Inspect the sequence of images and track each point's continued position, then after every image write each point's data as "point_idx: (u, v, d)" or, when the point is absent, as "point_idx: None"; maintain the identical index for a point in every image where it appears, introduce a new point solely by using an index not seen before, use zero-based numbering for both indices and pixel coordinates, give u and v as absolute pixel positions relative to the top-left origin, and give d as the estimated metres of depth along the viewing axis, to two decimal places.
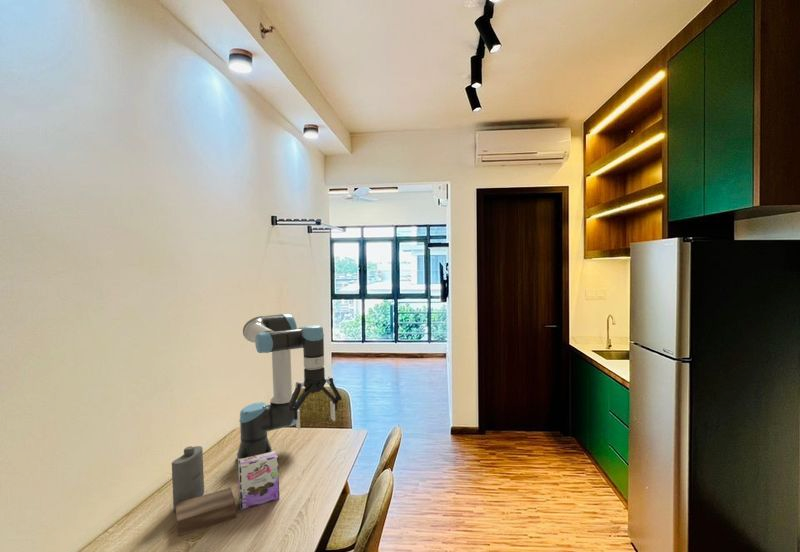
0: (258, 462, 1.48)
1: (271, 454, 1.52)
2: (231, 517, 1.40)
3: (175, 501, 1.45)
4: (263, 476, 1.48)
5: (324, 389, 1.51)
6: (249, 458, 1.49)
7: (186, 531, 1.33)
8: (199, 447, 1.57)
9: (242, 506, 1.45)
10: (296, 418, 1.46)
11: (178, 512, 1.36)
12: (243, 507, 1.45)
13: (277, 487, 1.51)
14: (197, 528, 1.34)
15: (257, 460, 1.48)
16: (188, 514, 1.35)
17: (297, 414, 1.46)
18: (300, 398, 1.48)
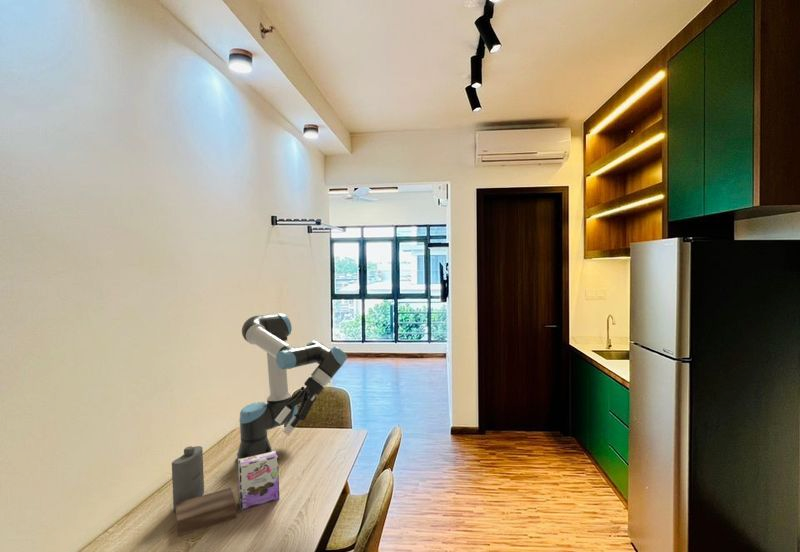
0: (258, 462, 1.48)
1: (271, 454, 1.52)
2: (231, 517, 1.40)
3: (175, 501, 1.45)
4: (263, 476, 1.48)
5: None
6: (249, 458, 1.49)
7: (186, 531, 1.33)
8: (199, 447, 1.57)
9: (242, 506, 1.45)
10: None
11: (178, 512, 1.36)
12: (243, 507, 1.45)
13: (277, 487, 1.51)
14: (197, 528, 1.34)
15: (257, 460, 1.48)
16: (188, 514, 1.35)
17: None
18: None
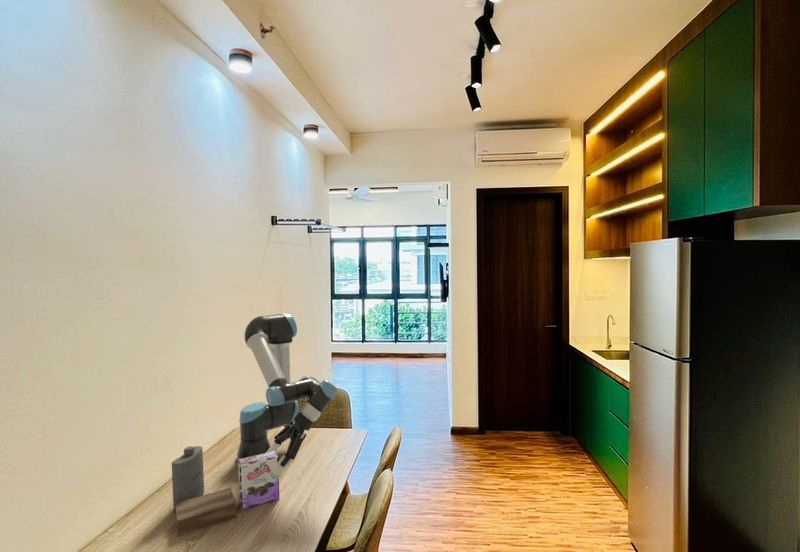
0: (258, 462, 1.48)
1: (271, 454, 1.52)
2: (231, 517, 1.40)
3: (175, 501, 1.45)
4: (263, 476, 1.48)
5: None
6: (249, 458, 1.49)
7: (186, 531, 1.33)
8: (199, 447, 1.57)
9: (242, 506, 1.45)
10: None
11: (178, 512, 1.36)
12: (243, 507, 1.45)
13: (277, 487, 1.51)
14: (197, 528, 1.34)
15: (257, 460, 1.48)
16: (188, 514, 1.35)
17: (287, 461, 1.47)
18: None
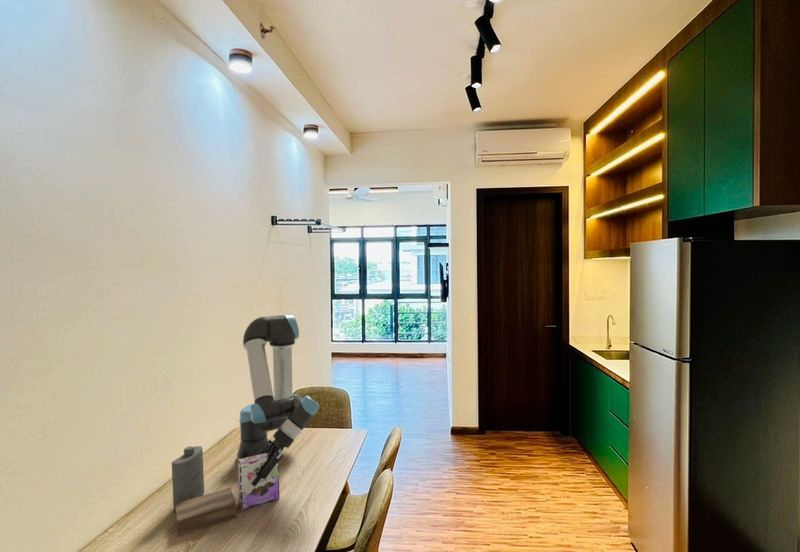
0: (259, 462, 1.48)
1: None
2: (231, 517, 1.40)
3: (175, 501, 1.45)
4: None
5: None
6: (249, 458, 1.49)
7: (186, 531, 1.33)
8: (199, 447, 1.57)
9: (242, 506, 1.45)
10: None
11: (178, 512, 1.36)
12: (243, 507, 1.45)
13: (277, 487, 1.51)
14: (197, 528, 1.34)
15: (257, 460, 1.48)
16: (188, 514, 1.35)
17: (258, 480, 1.47)
18: None
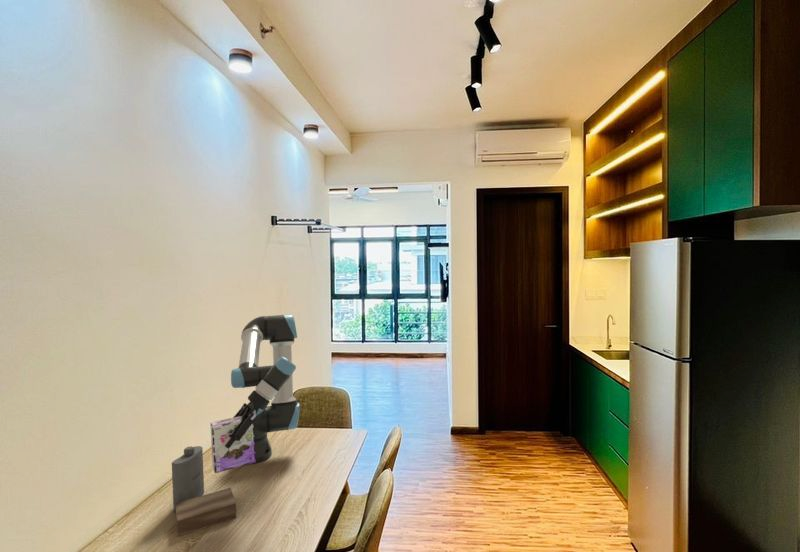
0: (232, 424, 1.41)
1: None
2: (231, 517, 1.40)
3: (175, 501, 1.45)
4: None
5: None
6: (222, 421, 1.43)
7: (186, 531, 1.33)
8: (199, 447, 1.57)
9: (216, 470, 1.39)
10: None
11: (178, 512, 1.36)
12: (217, 471, 1.39)
13: (253, 450, 1.45)
14: (197, 528, 1.34)
15: (230, 422, 1.41)
16: (188, 514, 1.35)
17: None
18: None
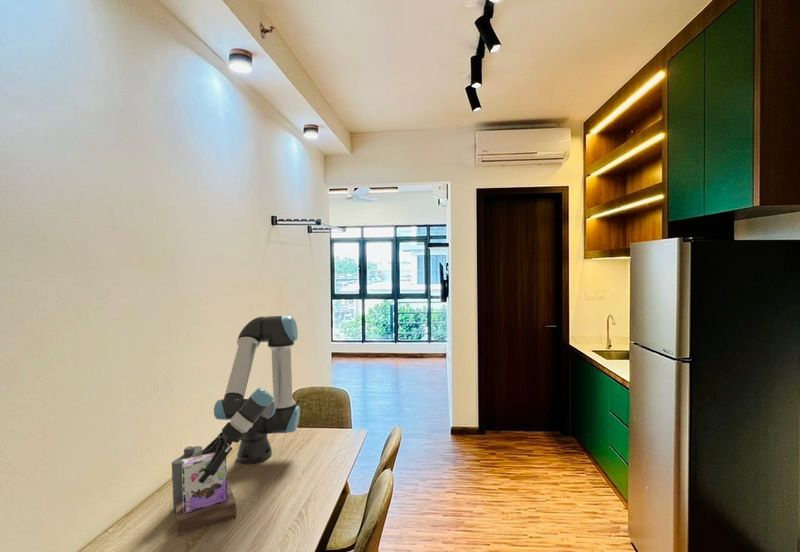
0: (204, 463, 1.38)
1: None
2: (231, 517, 1.40)
3: (175, 501, 1.45)
4: (210, 477, 1.39)
5: None
6: (194, 458, 1.40)
7: (186, 531, 1.33)
8: (199, 447, 1.57)
9: (185, 510, 1.35)
10: None
11: (178, 512, 1.36)
12: (186, 511, 1.35)
13: (225, 488, 1.41)
14: (197, 528, 1.34)
15: (202, 460, 1.38)
16: (188, 514, 1.35)
17: None
18: None
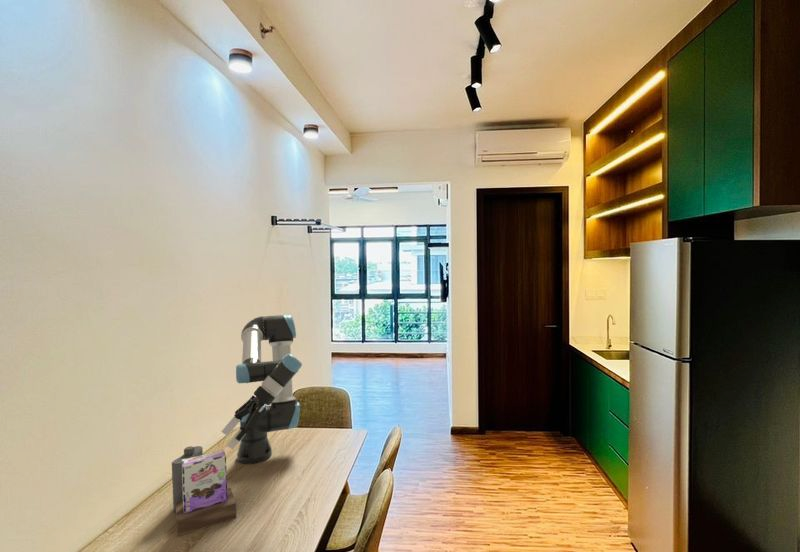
0: (204, 463, 1.38)
1: (219, 453, 1.43)
2: (231, 517, 1.40)
3: (175, 501, 1.45)
4: (209, 477, 1.39)
5: None
6: (194, 458, 1.40)
7: (186, 531, 1.33)
8: (199, 447, 1.57)
9: (185, 510, 1.35)
10: None
11: (178, 512, 1.36)
12: (186, 511, 1.35)
13: (225, 488, 1.41)
14: (197, 528, 1.34)
15: (202, 460, 1.38)
16: (188, 514, 1.35)
17: None
18: None
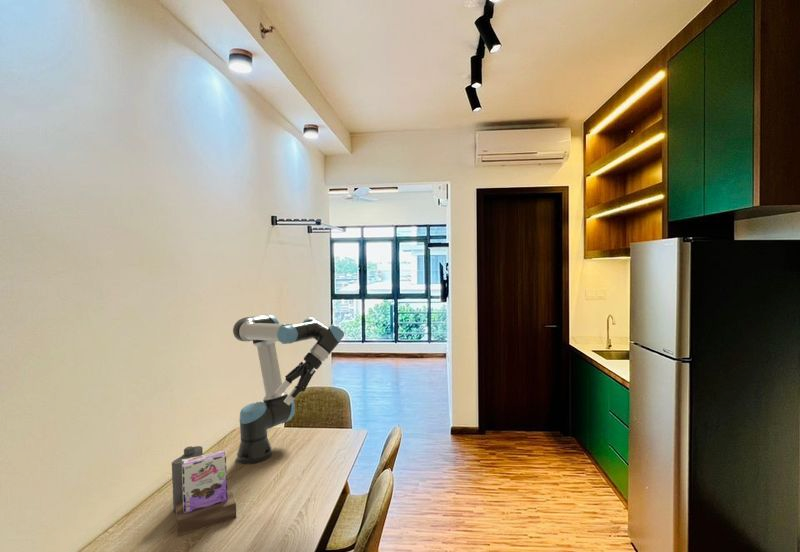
0: (204, 462, 1.38)
1: (219, 453, 1.43)
2: (231, 517, 1.40)
3: (175, 501, 1.45)
4: (209, 477, 1.39)
5: None
6: (194, 458, 1.40)
7: (186, 531, 1.33)
8: (199, 447, 1.57)
9: (185, 510, 1.35)
10: None
11: (178, 512, 1.36)
12: (186, 511, 1.35)
13: (225, 488, 1.41)
14: (197, 528, 1.34)
15: (202, 460, 1.38)
16: (188, 514, 1.35)
17: None
18: None
